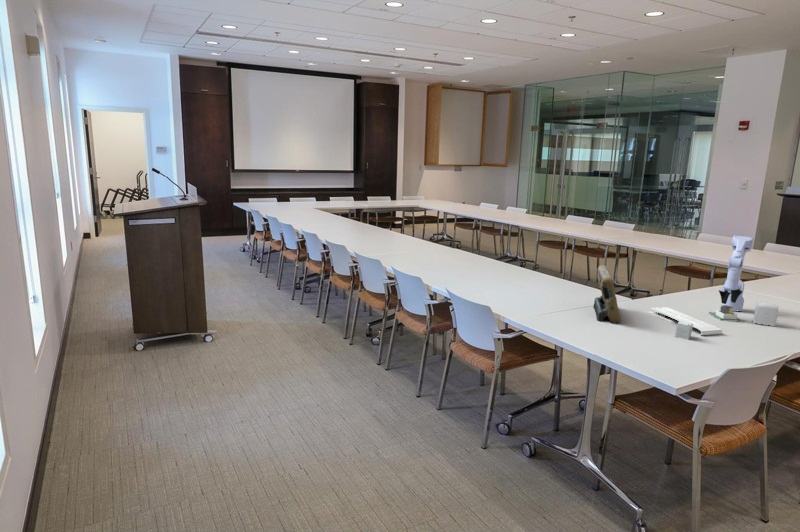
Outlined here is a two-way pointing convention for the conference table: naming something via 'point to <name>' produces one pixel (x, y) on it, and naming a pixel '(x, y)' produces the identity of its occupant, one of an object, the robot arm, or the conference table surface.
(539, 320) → the conference table surface
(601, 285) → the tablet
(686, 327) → the skincare box
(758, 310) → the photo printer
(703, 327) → the white keyboard
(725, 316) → the board
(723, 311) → the plug
